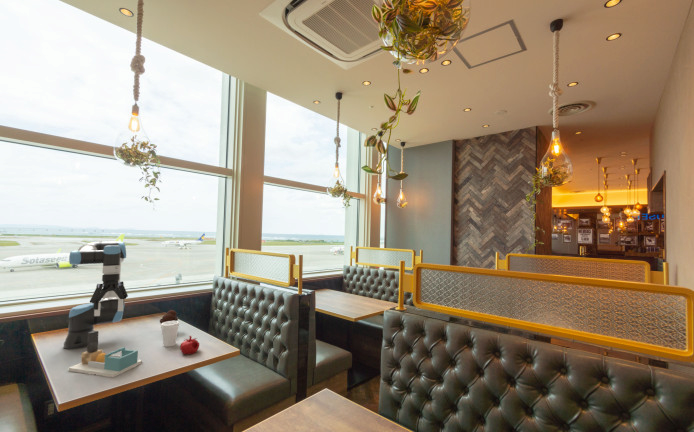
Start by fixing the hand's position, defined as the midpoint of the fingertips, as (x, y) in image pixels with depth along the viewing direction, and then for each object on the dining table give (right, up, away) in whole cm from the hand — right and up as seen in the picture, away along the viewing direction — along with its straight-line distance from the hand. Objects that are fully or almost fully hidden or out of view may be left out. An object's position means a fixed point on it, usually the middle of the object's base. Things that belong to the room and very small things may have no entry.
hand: (109, 313), depth 167 cm
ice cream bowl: (+9, -26, +41) cm, 49 cm away
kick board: (+7, -24, -10) cm, 27 cm away
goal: (+15, -23, -12) cm, 30 cm away
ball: (+3, -20, -9) cm, 22 cm away
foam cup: (+21, -26, +21) cm, 39 cm away
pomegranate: (+39, -26, +10) cm, 47 cm away
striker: (-3, -22, -8) cm, 24 cm away
